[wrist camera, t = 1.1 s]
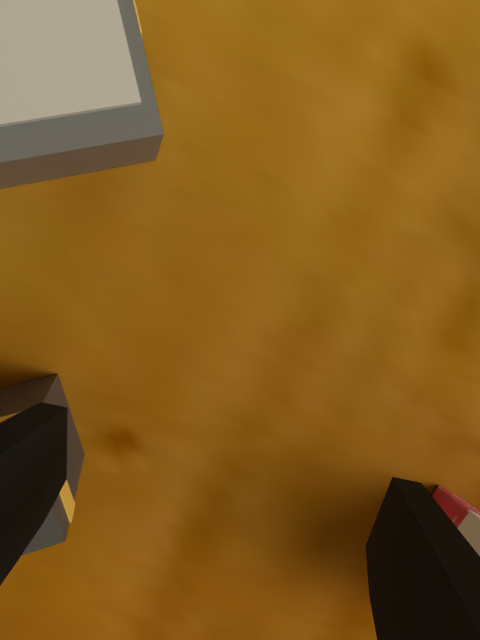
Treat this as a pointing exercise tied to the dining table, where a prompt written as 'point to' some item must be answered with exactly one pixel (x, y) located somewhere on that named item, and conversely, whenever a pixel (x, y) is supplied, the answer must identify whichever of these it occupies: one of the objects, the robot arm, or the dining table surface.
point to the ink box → (460, 515)
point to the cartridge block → (50, 391)
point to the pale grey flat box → (73, 90)
